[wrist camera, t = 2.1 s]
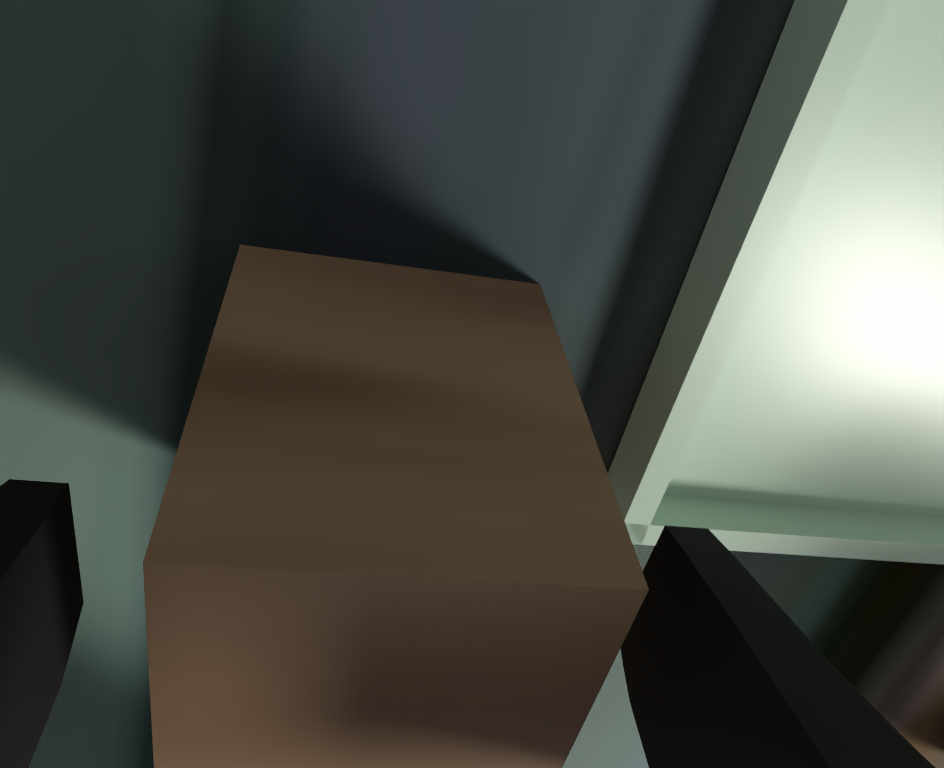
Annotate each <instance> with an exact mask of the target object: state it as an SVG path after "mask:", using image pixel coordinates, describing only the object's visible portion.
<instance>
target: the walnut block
mask: <svg viewBox="0 0 944 768" xmlns="http://www.w3.org/2000/svg"><path fill="white" fill-rule="evenodd" d="M143 571H144V590H145V609H146V627H147V646H148V665H149V684H150V702H151V721H152V740H153V759H154V768H562V767H563V765H564V763H565V760H566V758H567V756H568V754H569V752H570V750H571V748H572V746H573V744H574V742H575V740H576V738H577V736H578V734H579V732H580V730H581V728H582V726H583V724H584V722H585V720H586V717H587V715H588V713H589V711H590V709H591V707H592V705H593V703H594V701H595V699H596V697H597V695H598V693H599V691H600V689H601V687H602V685H603V683H604V681H605V679H606V677H607V674H608V672H609V670H610V668H611V666H612V664H613V662H614V660H615V658H616V656H617V654H618V652H619V650H620V648H621V646H622V644H623V642H624V640H625V638H626V636H627V634H628V632H629V629H630V627H631V625H632V623H633V621H634V619H635V617H636V615H637V613H638V611H639V609H640V607H641V605H642V603H643V601H644V599H645V597H646V595H647V593H648V591H649V589H648V586H647V583H646V580H645V577H644V575H643V572H642V569H641V566H640V563H639V561H638V558H637V555H636V552H635V549H634V547H633V544H632V541H631V538H630V535H629V533H628V530H627V527H626V524H625V521H624V519H623V516H622V513H621V510H620V507H619V504H618V502H617V499H616V496H615V493H614V490H613V488H612V485H611V482H610V479H609V476H608V474H607V471H606V468H605V465H604V462H603V460H602V457H601V454H600V451H599V448H598V446H597V443H596V440H595V437H594V434H593V432H592V429H591V426H590V423H589V420H588V418H587V415H586V412H585V409H584V406H583V403H582V401H581V398H580V395H579V392H578V389H577V387H576V384H575V381H574V378H573V375H572V373H571V370H570V367H569V364H568V361H567V359H566V356H565V353H564V350H563V347H562V345H561V342H560V339H559V336H558V333H557V331H556V328H555V325H554V322H553V319H552V317H551V314H550V311H549V308H548V305H547V303H546V300H545V297H544V294H543V291H542V288H541V286H540V284H536V283H528V282H520V281H513V280H505V279H498V278H490V277H482V276H475V275H467V274H460V273H452V272H445V271H437V270H429V269H422V268H414V267H407V266H399V265H392V264H384V263H376V262H369V261H361V260H354V259H346V258H338V257H331V256H323V255H316V254H308V253H301V252H293V251H285V250H278V249H270V248H263V247H255V246H247V245H240V247H239V250H238V253H237V256H236V260H235V263H234V266H233V269H232V273H231V276H230V279H229V283H228V286H227V289H226V292H225V296H224V299H223V302H222V305H221V309H220V312H219V315H218V319H217V322H216V325H215V328H214V332H213V335H212V338H211V342H210V345H209V348H208V351H207V355H206V358H205V361H204V364H203V368H202V371H201V374H200V378H199V381H198V384H197V387H196V391H195V394H194V397H193V401H192V404H191V407H190V410H189V414H188V417H187V420H186V423H185V427H184V430H183V433H182V437H181V440H180V443H179V446H178V450H177V453H176V456H175V460H174V463H173V466H172V469H171V473H170V476H169V479H168V482H167V486H166V489H165V492H164V496H163V499H162V502H161V505H160V509H159V512H158V515H157V519H156V522H155V525H154V528H153V532H152V535H151V538H150V541H149V545H148V548H147V551H146V555H145V558H144V561H143Z"/></svg>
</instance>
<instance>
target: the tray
mask: <svg viewBox="0 0 944 768" xmlns="http://www.w3.org/2000/svg"><path fill="white" fill-rule="evenodd" d="M608 476H609V479H610V482H611V485H612V488H613V490H614V493H615V496H616V499H617V502H618V504H619V507H620V510H621V513H622V516H623V519H624V521H625V524H626V527H627V530H628V533H629V535H630V538H631V541H632V544H636V545H652V546H655V545H656V543H657V541H658V539H659V537H660V535H661V532H662V530H663V528H664V526H679V527H693V528H707V529H709V530H710V531H711V532H712V533H713V534H714V535H715V536H716V537H717V538H718V540H719V541H720V542H721V543H722V544H723V545H724V546H725V547H726V548H727V549H728V550H729V551H743V552H759V553H774V554H789V555H805V556H820V557H835V558H851V559H866V560H881V561H897V562H912V563H927V564H943V565H944V0H795V1H794V3H793V6H792V8H791V11H790V13H789V16H788V18H787V21H786V23H785V26H784V28H783V31H782V34H781V36H780V39H779V41H778V44H777V46H776V49H775V51H774V54H773V56H772V59H771V61H770V64H769V66H768V69H767V72H766V74H765V77H764V79H763V82H762V84H761V87H760V89H759V92H758V94H757V97H756V99H755V102H754V104H753V107H752V110H751V112H750V115H749V117H748V120H747V122H746V125H745V127H744V130H743V132H742V135H741V137H740V140H739V142H738V145H737V148H736V150H735V153H734V155H733V158H732V160H731V163H730V165H729V168H728V170H727V173H726V175H725V178H724V180H723V183H722V186H721V188H720V191H719V193H718V196H717V198H716V201H715V203H714V206H713V208H712V211H711V213H710V216H709V218H708V221H707V224H706V226H705V229H704V231H703V234H702V236H701V239H700V241H699V244H698V246H697V249H696V251H695V254H694V256H693V259H692V262H691V264H690V267H689V269H688V272H687V274H686V277H685V279H684V282H683V284H682V287H681V289H680V292H679V294H678V297H677V300H676V302H675V305H674V307H673V310H672V312H671V315H670V317H669V320H668V322H667V325H666V327H665V330H664V332H663V335H662V338H661V340H660V343H659V345H658V348H657V350H656V353H655V355H654V358H653V360H652V363H651V365H650V368H649V371H648V373H647V376H646V378H645V381H644V383H643V386H642V388H641V391H640V393H639V396H638V398H637V401H636V403H635V406H634V409H633V411H632V414H631V416H630V419H629V421H628V424H627V426H626V429H625V431H624V434H623V436H622V439H621V441H620V444H619V447H618V449H617V452H616V454H615V457H614V459H613V462H612V464H611V467H610V469H609V472H608Z"/></svg>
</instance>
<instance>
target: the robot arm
mask: <svg viewBox="0 0 944 768" xmlns="http://www.w3.org/2000/svg"><path fill="white" fill-rule="evenodd" d="M643 575H644V577H645V580H646V583H647V586H648V589H649V591H648V593H647V595H646V597H645V599H644V601H643V603H642V605H641V607H640V609H639V611H638V613H637V615H636V617H635V619H634V621H633V623H632V625H631V627H630V629H629V632H628V634H627V636H626V638H625V640H624V642H623V644H622V646H621V654H622V660H623V667H624V672H625V677H626V683H627V688H628V694H629V699H630V703H631V707H632V711H633V714H634V718H635V721H636V725H637V728H638V731H639V735H640V738H641V742H642V745H643V748H644V752H645V755H646V759H647V762H648V765H649V768H935V767H934V766H933V765H932V764H931V763H930V762H929V761H928V760H926V759H925V758H924V757H923V756H922V755H921V754H920V753H919V752H918V751H917V750H916V749H915V748H914V747H913V746H912V745H911V744H910V743H909V742H908V741H907V740H906V739H905V738H904V737H903V736H902V735H901V734H900V733H899V732H898V731H897V730H896V729H895V728H894V727H893V726H892V725H891V724H890V723H889V722H888V721H887V720H886V719H885V718H884V717H883V716H882V715H881V714H880V713H879V712H878V711H877V710H876V709H875V708H874V707H873V706H872V705H871V704H870V703H869V702H868V701H867V700H866V699H865V698H864V697H863V696H862V695H861V694H860V693H859V692H858V691H857V690H856V689H855V688H854V687H853V686H852V685H851V684H850V683H849V682H848V681H847V680H846V679H845V677H844V676H843V675H842V674H841V673H840V672H839V671H838V670H837V669H836V668H835V667H834V666H833V665H832V664H831V663H830V662H829V661H828V659H827V658H826V657H825V656H824V655H823V654H822V653H821V652H820V651H819V650H818V649H817V648H816V646H815V645H814V644H813V643H812V642H811V641H810V640H809V639H808V638H807V637H806V636H805V635H804V633H803V632H802V631H801V630H800V629H799V628H798V627H797V626H796V625H795V624H794V622H793V621H792V620H791V619H790V618H789V617H788V616H787V615H786V614H785V612H784V611H783V610H782V609H781V608H780V607H779V606H778V605H777V604H776V602H775V601H774V600H773V599H772V598H771V597H770V596H769V595H768V594H767V592H766V591H765V590H764V589H763V588H762V587H761V586H760V585H759V583H758V582H757V581H756V580H755V579H754V578H753V577H752V576H751V575H750V573H749V572H748V571H747V570H746V569H745V568H744V567H743V566H742V565H741V563H740V562H739V561H738V560H737V559H736V558H735V557H734V556H733V555H732V554H731V552H730V551H729V550H728V549H727V548H726V547H725V546H724V545H723V544H722V543H721V542H720V541H719V540H718V538H717V537H716V536H715V535H714V534H713V533H712V532H711V531H710V530H709V529H707V528H693V527H679V526H664V528H663V530H662V532H661V535H660V537H659V539H658V541H657V543H656V545H655V547H654V549H653V551H652V553H651V555H650V558H649V560H648V562H647V564H646V566H645V568H644V570H643ZM82 606H83V595H82V587H81V579H80V570H79V562H78V554H77V546H76V538H75V530H74V522H73V514H72V506H71V498H70V490H69V483H55V482H40V481H26V480H12V479H9V480H8V481H7V482H5V483H4V484H2V485H1V486H0V768H28V767H29V764H30V762H31V759H32V757H33V754H34V752H35V749H36V747H37V744H38V742H39V739H40V737H41V734H42V732H43V729H44V727H45V724H46V722H47V719H48V717H49V714H50V712H51V709H52V707H53V704H54V702H55V699H56V697H57V694H58V691H59V689H60V686H61V682H62V679H63V675H64V672H65V668H66V665H67V661H68V658H69V654H70V651H71V647H72V643H73V640H74V636H75V632H76V628H77V625H78V621H79V617H80V613H81V610H82Z"/></svg>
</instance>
